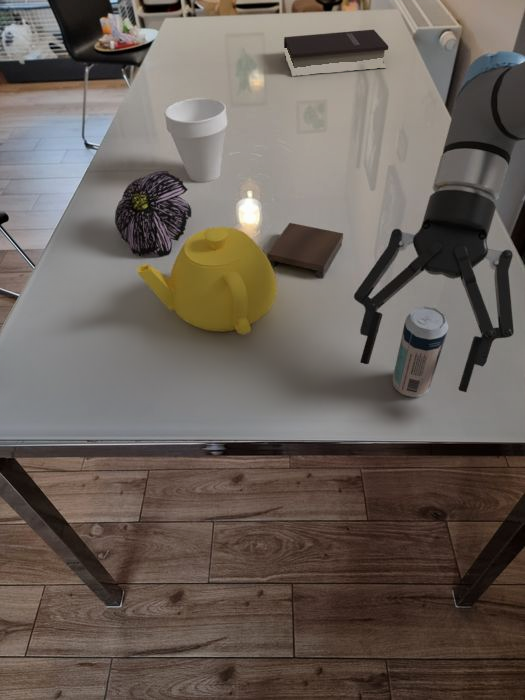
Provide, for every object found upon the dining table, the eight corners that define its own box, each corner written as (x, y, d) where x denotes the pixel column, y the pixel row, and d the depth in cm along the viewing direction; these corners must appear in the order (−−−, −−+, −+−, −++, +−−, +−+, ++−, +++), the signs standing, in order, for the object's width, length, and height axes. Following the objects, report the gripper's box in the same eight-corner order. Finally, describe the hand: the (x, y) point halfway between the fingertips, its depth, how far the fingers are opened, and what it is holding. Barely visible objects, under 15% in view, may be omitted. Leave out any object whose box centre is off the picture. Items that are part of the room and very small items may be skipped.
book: (370, 48, 161) (372, 27, 157) (385, 68, 148) (388, 46, 144) (284, 56, 160) (283, 35, 156) (292, 76, 147) (292, 54, 143)
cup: (165, 175, 109) (152, 110, 99) (210, 156, 114) (201, 92, 104) (198, 195, 102) (187, 127, 92) (244, 173, 107) (238, 108, 98)
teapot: (256, 260, 86) (251, 192, 77) (299, 330, 74) (300, 260, 64) (142, 290, 82) (122, 222, 73) (167, 370, 69) (147, 300, 60)
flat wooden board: (342, 245, 88) (343, 233, 86) (323, 278, 82) (324, 266, 80) (289, 234, 91) (289, 222, 89) (267, 265, 85) (267, 253, 83)
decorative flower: (81, 200, 84) (142, 144, 87) (103, 238, 95) (157, 187, 98) (143, 247, 80) (204, 186, 84) (159, 281, 91) (212, 226, 95)
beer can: (437, 388, 65) (459, 321, 56) (409, 405, 63) (428, 338, 55) (411, 365, 68) (428, 298, 59) (384, 381, 66) (397, 314, 57)
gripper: (565, 224, 58) (510, 402, 60) (369, 191, 66) (325, 350, 68) (583, 206, 51) (521, 409, 53) (362, 171, 59) (313, 350, 61)
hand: (411, 376), depth 60 cm, fingers open, 11 cm apart
